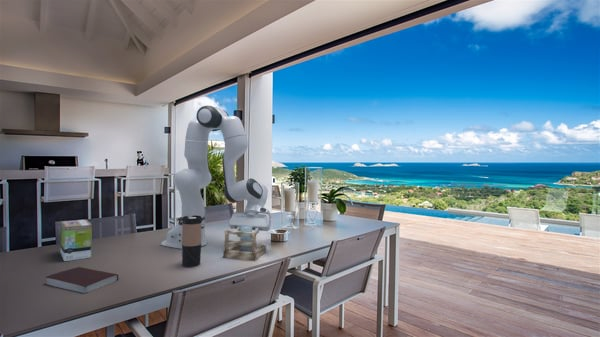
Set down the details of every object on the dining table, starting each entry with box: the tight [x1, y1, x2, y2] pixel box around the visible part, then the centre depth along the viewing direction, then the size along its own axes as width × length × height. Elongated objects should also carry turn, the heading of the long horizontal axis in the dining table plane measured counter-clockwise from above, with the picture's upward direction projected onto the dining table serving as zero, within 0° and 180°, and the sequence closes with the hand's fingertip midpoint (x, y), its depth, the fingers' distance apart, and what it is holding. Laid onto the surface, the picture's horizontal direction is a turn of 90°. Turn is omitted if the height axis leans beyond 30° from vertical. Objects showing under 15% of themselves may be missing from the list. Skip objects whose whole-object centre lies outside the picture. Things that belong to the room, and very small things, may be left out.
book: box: [45, 266, 119, 294], centre depth 114 cm, size 12×19×3 cm, turn 71°
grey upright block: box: [239, 226, 253, 250], centre depth 152 cm, size 6×6×10 cm
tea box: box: [59, 219, 93, 262], centre depth 144 cm, size 15×10×15 cm, turn 41°
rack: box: [222, 229, 267, 261], centre depth 152 cm, size 15×15×12 cm
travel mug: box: [181, 215, 202, 268], centre depth 136 cm, size 8×8×20 cm
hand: (245, 236), depth 151 cm, fingers closed on grey upright block, 5 cm apart
